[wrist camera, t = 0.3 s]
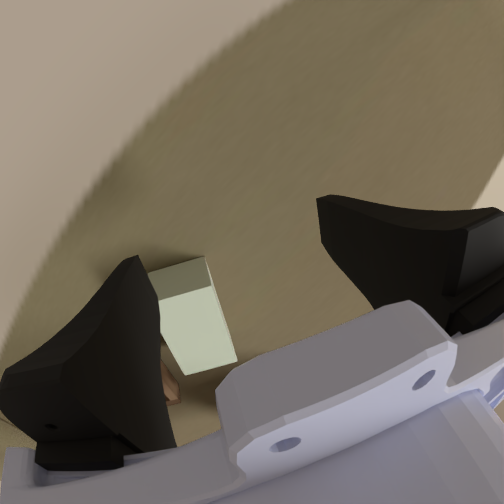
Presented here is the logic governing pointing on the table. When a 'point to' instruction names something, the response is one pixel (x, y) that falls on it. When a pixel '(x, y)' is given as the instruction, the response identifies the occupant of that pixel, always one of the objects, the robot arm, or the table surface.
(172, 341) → the pale green block
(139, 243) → the table surface
